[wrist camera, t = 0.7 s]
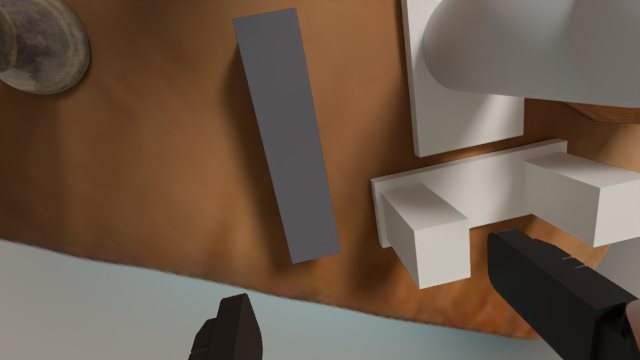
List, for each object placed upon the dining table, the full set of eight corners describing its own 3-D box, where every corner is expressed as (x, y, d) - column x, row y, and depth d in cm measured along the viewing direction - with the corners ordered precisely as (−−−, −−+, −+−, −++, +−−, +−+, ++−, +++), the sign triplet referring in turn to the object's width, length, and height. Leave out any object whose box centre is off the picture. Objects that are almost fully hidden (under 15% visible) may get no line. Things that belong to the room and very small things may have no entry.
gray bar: (242, 31, 25) (232, 19, 20) (292, 22, 25) (295, 7, 20) (290, 229, 31) (292, 264, 26) (329, 220, 31) (340, 252, 26)
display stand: (344, -3, 25) (514, -200, 7) (569, -45, 26) (1220, -310, 8) (379, 242, 33) (503, 452, 14) (552, 202, 34) (870, 351, 16)
